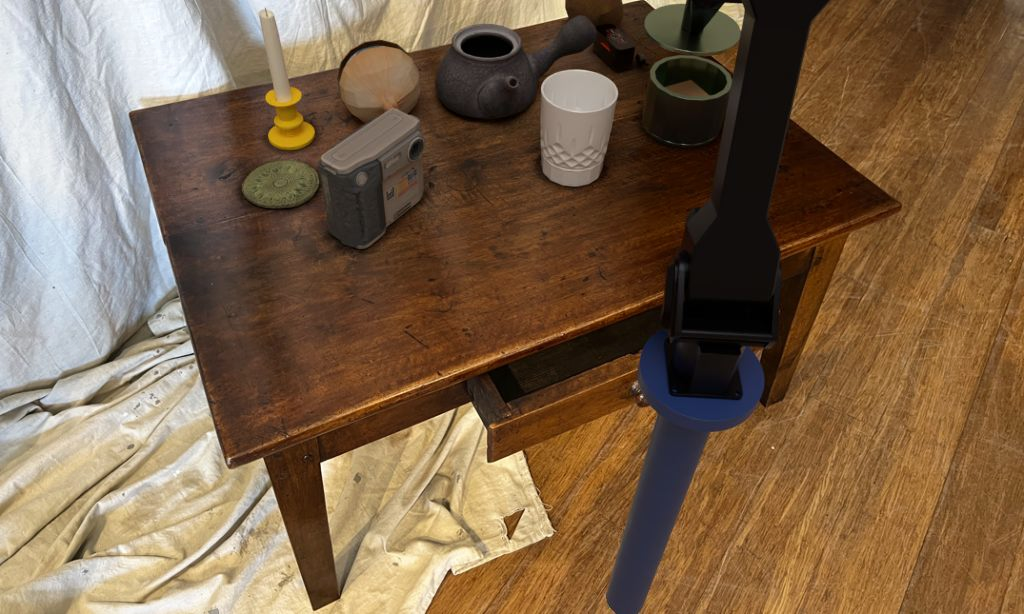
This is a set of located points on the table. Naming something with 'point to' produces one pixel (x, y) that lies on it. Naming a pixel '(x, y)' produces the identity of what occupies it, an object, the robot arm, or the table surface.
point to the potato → (596, 11)
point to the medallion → (281, 184)
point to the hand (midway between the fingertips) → (693, 25)
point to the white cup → (576, 125)
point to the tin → (685, 102)
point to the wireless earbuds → (616, 48)
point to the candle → (283, 93)
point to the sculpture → (378, 79)
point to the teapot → (501, 67)
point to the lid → (674, 32)
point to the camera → (373, 177)
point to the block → (687, 89)
